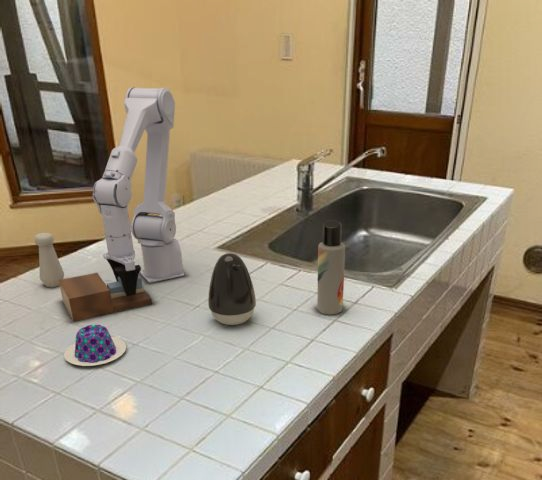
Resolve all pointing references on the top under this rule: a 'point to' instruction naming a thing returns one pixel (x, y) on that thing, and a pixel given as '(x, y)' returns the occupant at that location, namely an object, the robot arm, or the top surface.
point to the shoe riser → (96, 297)
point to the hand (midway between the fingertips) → (126, 289)
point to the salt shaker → (48, 261)
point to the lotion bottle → (331, 269)
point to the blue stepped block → (118, 289)
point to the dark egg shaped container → (231, 291)
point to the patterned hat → (94, 347)
